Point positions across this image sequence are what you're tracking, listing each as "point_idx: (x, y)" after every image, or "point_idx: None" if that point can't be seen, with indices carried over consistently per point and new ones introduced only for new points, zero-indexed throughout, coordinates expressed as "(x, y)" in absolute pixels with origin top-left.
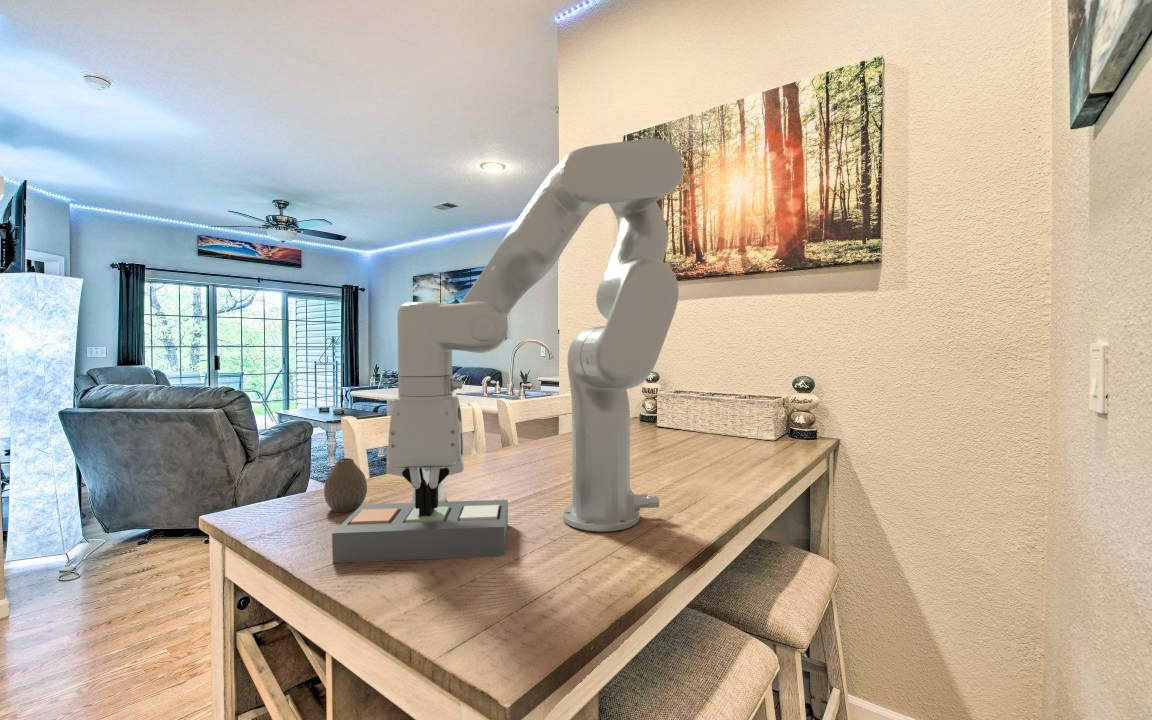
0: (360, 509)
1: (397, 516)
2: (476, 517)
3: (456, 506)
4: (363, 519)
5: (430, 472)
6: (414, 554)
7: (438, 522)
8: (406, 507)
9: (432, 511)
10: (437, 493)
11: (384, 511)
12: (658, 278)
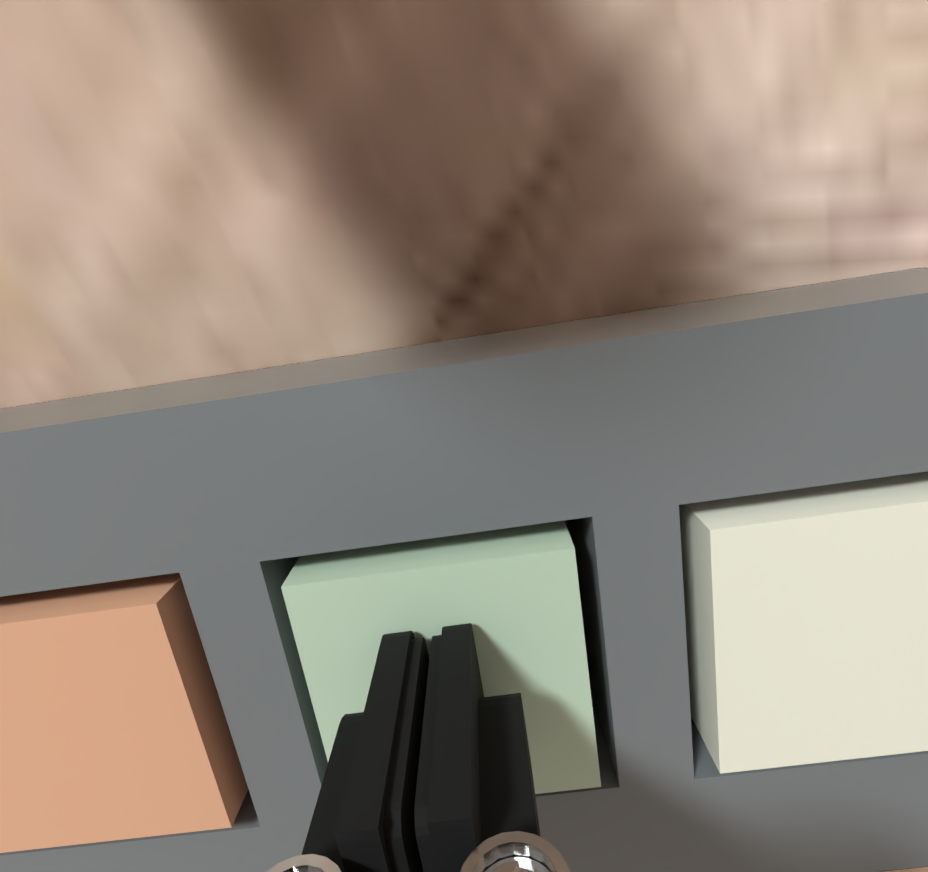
0: None
1: (235, 718)
2: (842, 758)
3: (624, 488)
4: (47, 818)
5: None
6: None
7: (574, 805)
8: (193, 525)
9: (482, 693)
10: (535, 806)
11: (89, 671)
12: None
